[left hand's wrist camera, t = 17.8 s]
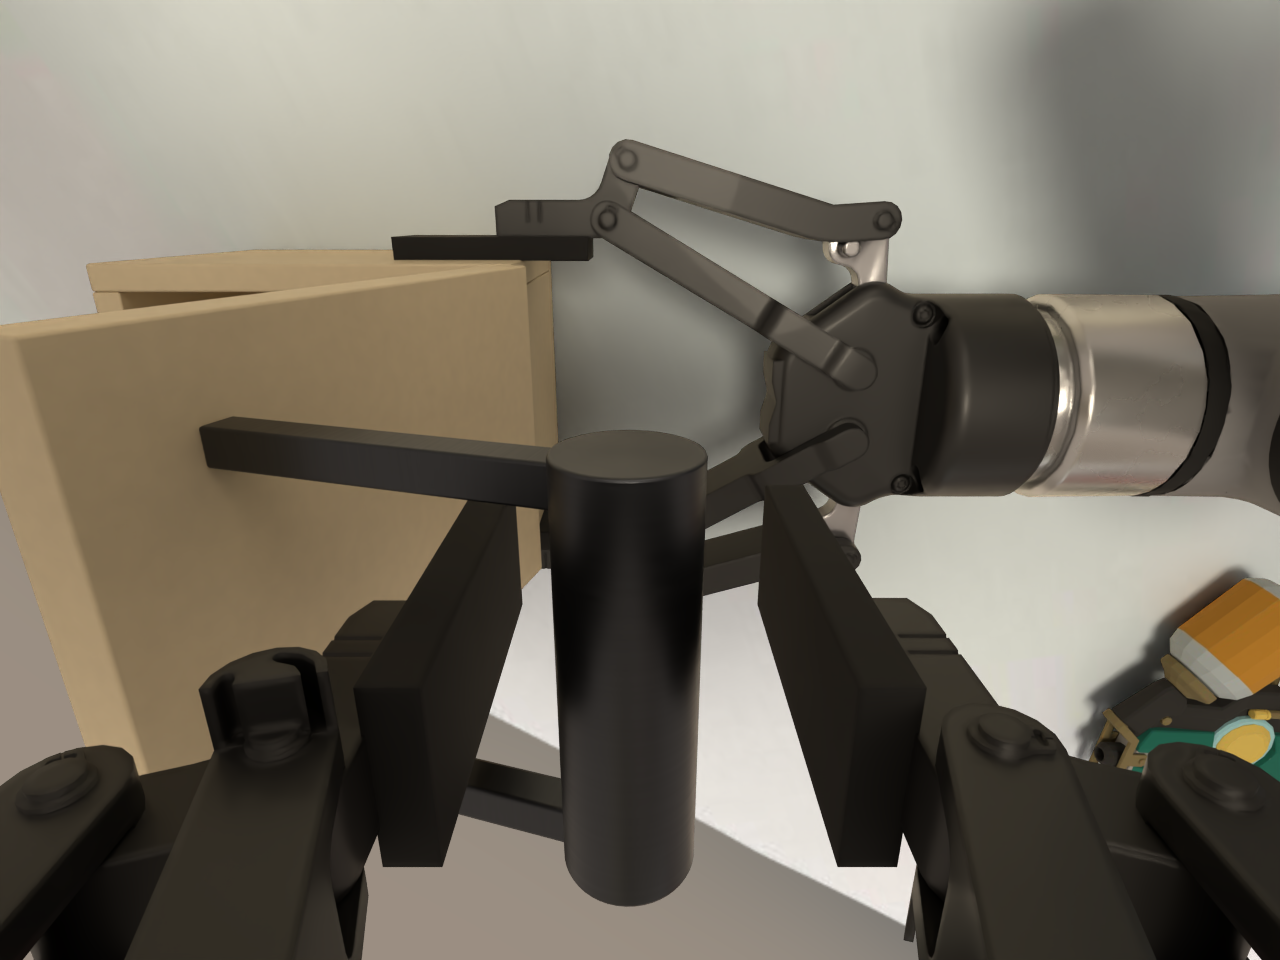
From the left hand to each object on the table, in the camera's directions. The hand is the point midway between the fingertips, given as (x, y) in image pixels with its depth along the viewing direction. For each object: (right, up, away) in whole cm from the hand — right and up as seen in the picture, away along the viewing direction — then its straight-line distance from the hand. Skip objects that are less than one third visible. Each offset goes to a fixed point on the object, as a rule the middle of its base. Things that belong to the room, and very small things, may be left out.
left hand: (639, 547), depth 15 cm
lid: (-7, +1, +2) cm, 7 cm away
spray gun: (+34, -10, +25) cm, 43 cm away
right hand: (-8, +4, +12) cm, 15 cm away
